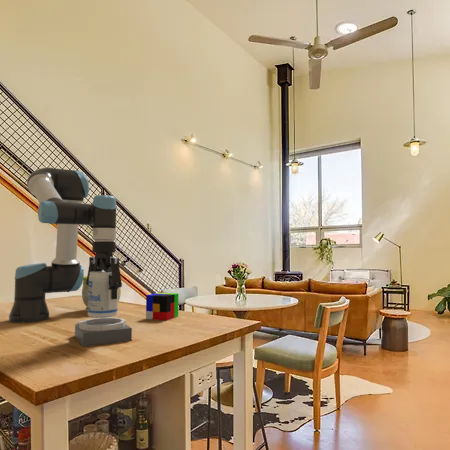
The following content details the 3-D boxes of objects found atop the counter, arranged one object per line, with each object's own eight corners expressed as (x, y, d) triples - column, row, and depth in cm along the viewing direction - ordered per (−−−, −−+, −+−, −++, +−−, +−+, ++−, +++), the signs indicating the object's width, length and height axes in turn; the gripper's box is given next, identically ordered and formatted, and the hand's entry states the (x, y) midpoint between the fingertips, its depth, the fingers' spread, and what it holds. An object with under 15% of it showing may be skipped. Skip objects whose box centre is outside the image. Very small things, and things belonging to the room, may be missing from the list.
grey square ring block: (74, 336, 128) (75, 319, 128) (118, 331, 135) (119, 315, 136) (82, 346, 114) (83, 328, 114) (131, 340, 121) (131, 323, 122)
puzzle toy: (146, 319, 159) (146, 295, 159) (158, 315, 168) (158, 292, 169) (166, 320, 155) (166, 296, 156) (178, 316, 164) (178, 293, 165)
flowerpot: (128, 310, 180) (128, 276, 181) (94, 315, 167) (94, 278, 168) (107, 306, 192) (108, 274, 193) (74, 311, 179) (74, 276, 180)
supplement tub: (81, 317, 122) (82, 272, 123) (99, 312, 131) (100, 270, 132) (106, 319, 119) (107, 272, 120) (123, 314, 128) (124, 271, 129)
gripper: (76, 241, 130) (74, 306, 129) (114, 240, 117) (113, 312, 115) (95, 241, 136) (94, 303, 135) (133, 240, 123) (133, 309, 121)
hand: (103, 307), depth 125 cm, fingers closed on supplement tub, 10 cm apart
